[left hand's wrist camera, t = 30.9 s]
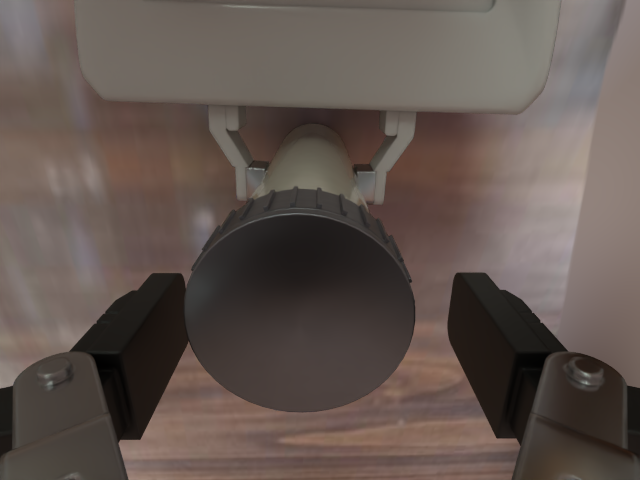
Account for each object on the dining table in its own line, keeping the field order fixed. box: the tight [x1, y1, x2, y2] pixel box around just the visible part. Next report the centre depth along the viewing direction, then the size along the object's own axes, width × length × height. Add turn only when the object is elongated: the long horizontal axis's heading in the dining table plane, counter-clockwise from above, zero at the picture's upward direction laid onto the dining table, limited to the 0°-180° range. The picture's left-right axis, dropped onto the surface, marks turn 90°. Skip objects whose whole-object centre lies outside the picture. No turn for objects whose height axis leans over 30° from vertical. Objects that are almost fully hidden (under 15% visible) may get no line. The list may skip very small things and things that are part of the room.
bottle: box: [250, 124, 371, 215], centre depth 18 cm, size 4×4×18 cm
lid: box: [183, 186, 415, 412], centre depth 10 cm, size 5×5×2 cm
